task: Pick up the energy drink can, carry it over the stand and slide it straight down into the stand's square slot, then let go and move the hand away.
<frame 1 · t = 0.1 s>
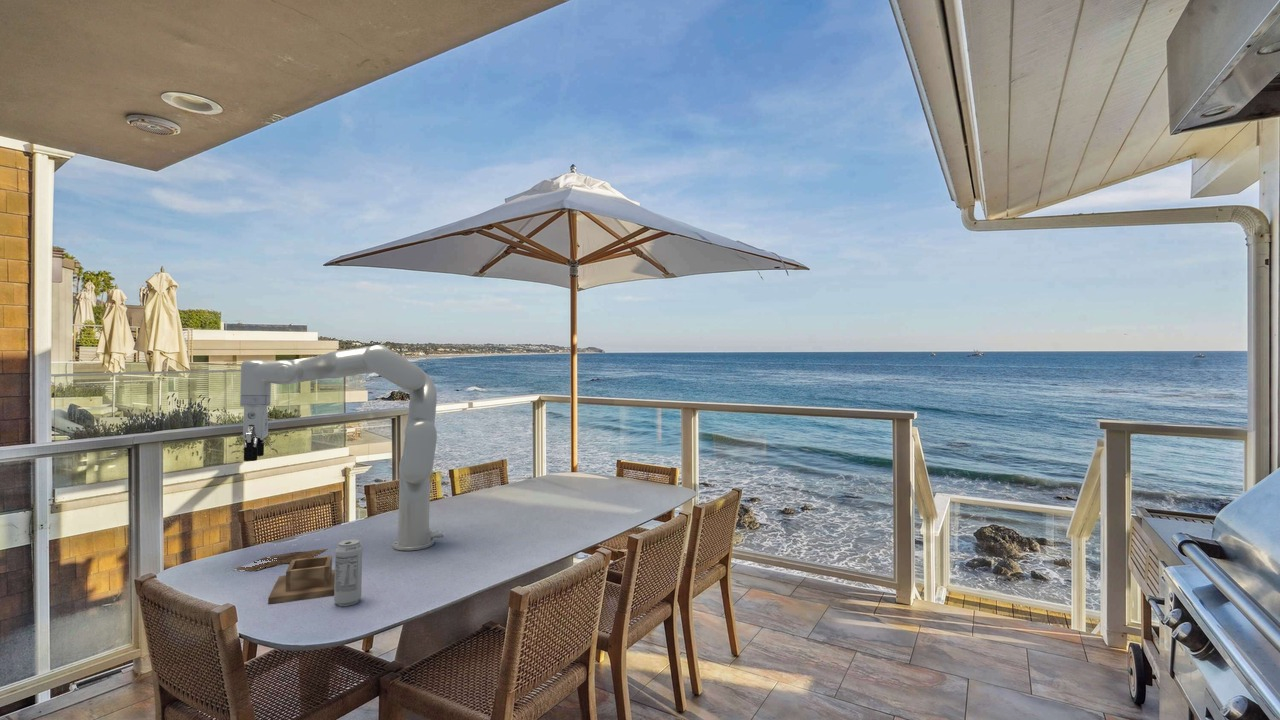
hand: (254, 458, 167), 31 cm above the table, tool pointing down, fingers open, 9 cm apart
wooden fragment: (284, 561, 170), on the table
energy drink can: (347, 602, 140), on the table
slotted stand: (309, 587, 149), on the table
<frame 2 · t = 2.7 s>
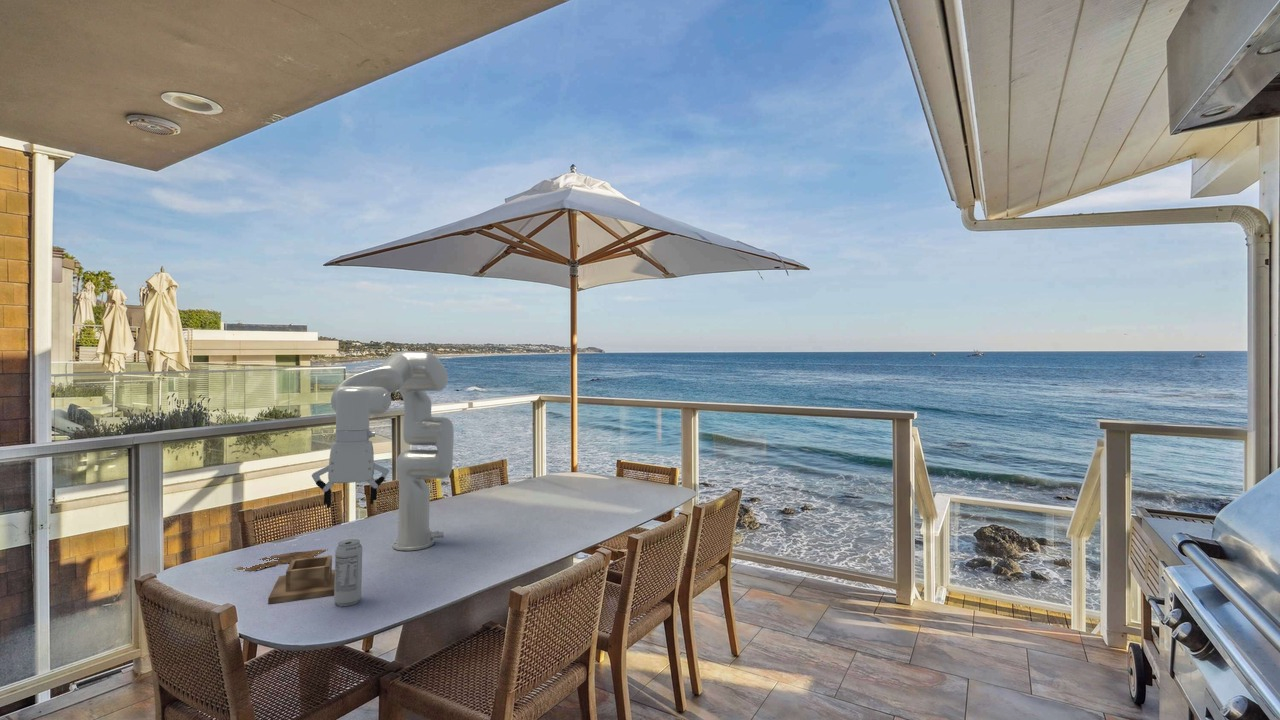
hand: (350, 504, 141), 24 cm above the table, tool pointing down, fingers open, 9 cm apart
nothing on the table moved.
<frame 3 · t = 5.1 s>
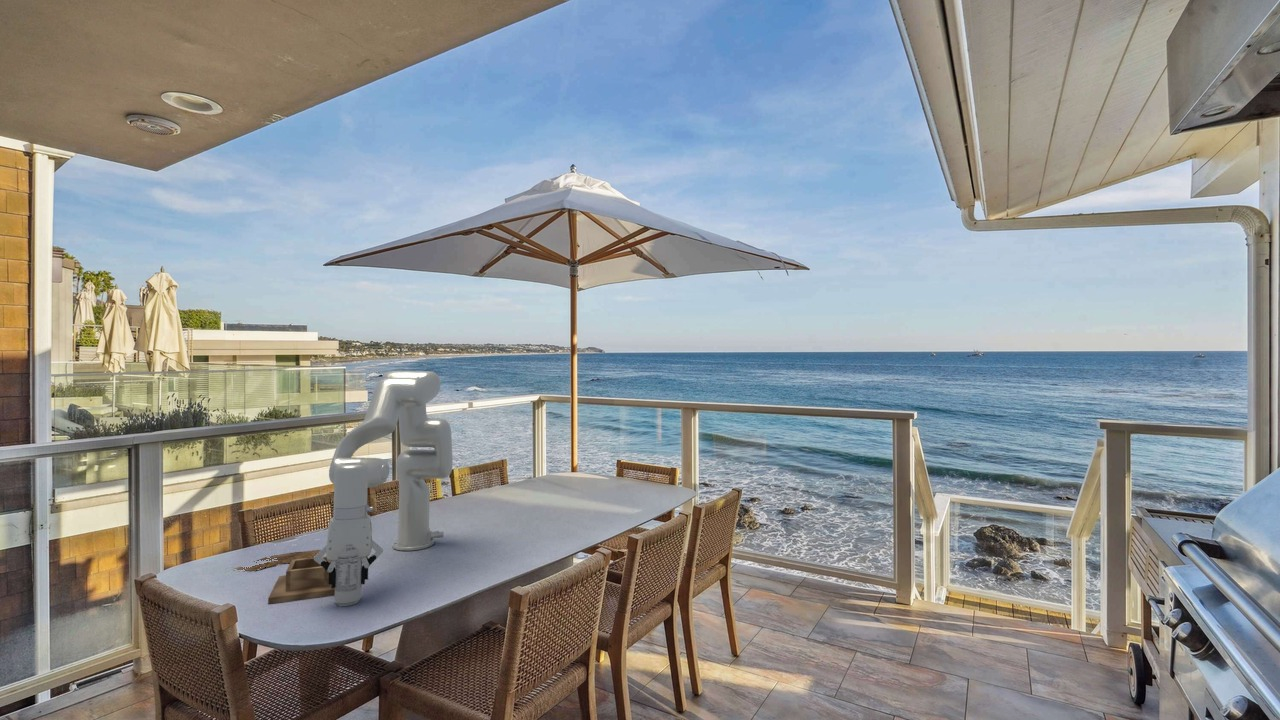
hand: (348, 583, 140), 4 cm above the table, tool pointing down, fingers closed on energy drink can, 6 cm apart
energy drink can: (348, 602, 140), on the table, touching gripper
everything else where it was.
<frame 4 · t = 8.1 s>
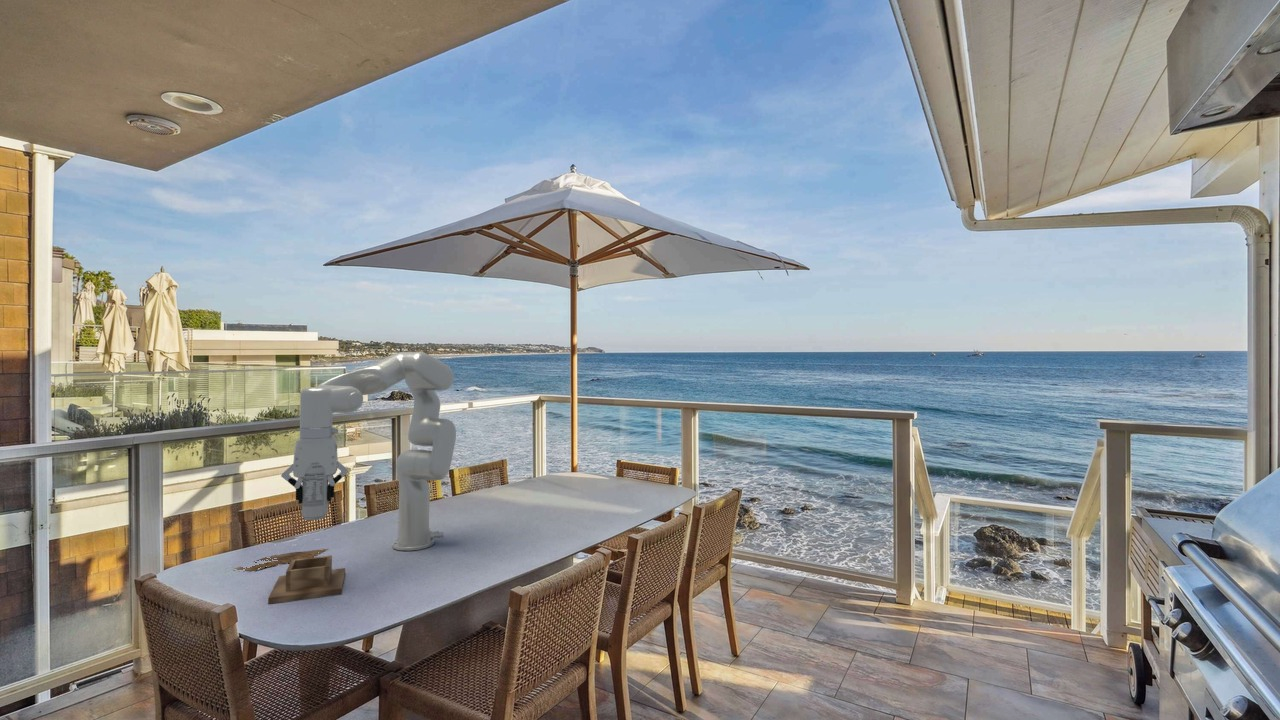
hand: (315, 500, 149), 23 cm above the table, tool pointing down, fingers closed on energy drink can, 6 cm apart
energy drink can: (314, 518, 148), point 19 cm above the table, touching gripper
everything else where it was.
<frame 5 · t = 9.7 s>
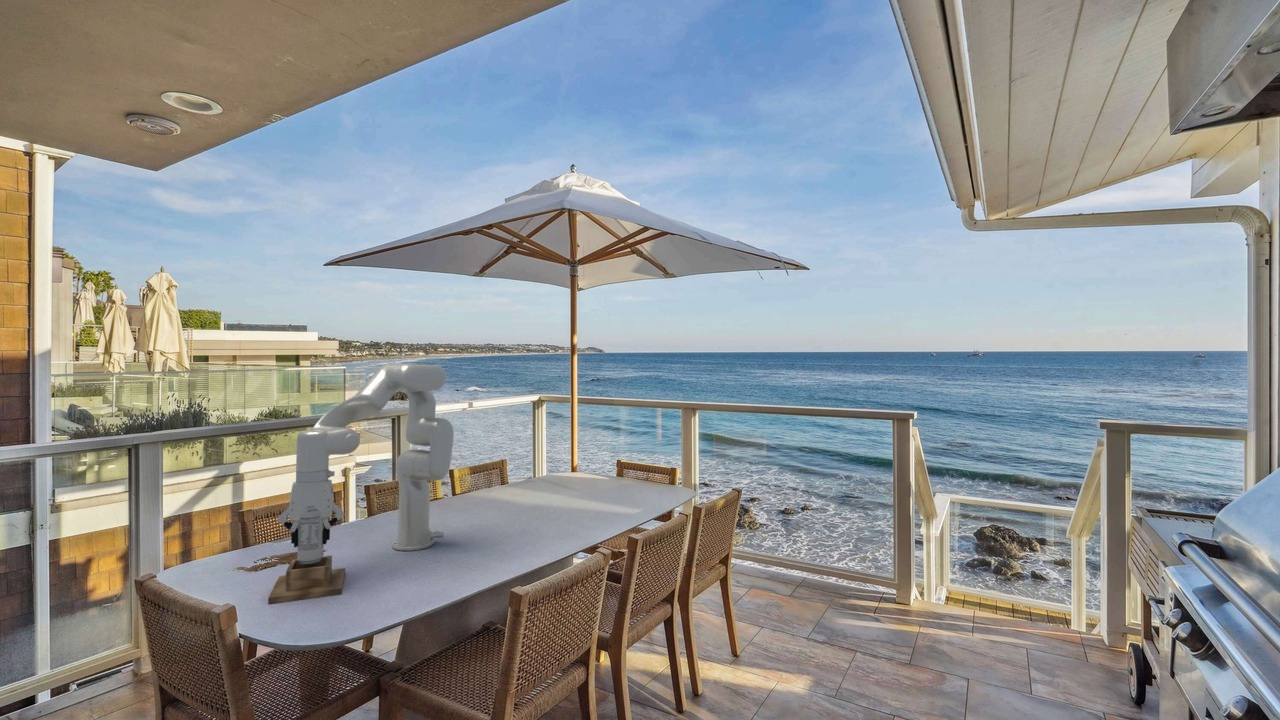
hand: (310, 543, 149), 12 cm above the table, tool pointing down, fingers closed on energy drink can, 6 cm apart
energy drink can: (310, 561, 149), point 7 cm above the table, touching gripper
everything else where it was.
when the fingers open (7 cm above the table, at t = 11.2 s): energy drink can drops 1 cm, resting on slotted stand.
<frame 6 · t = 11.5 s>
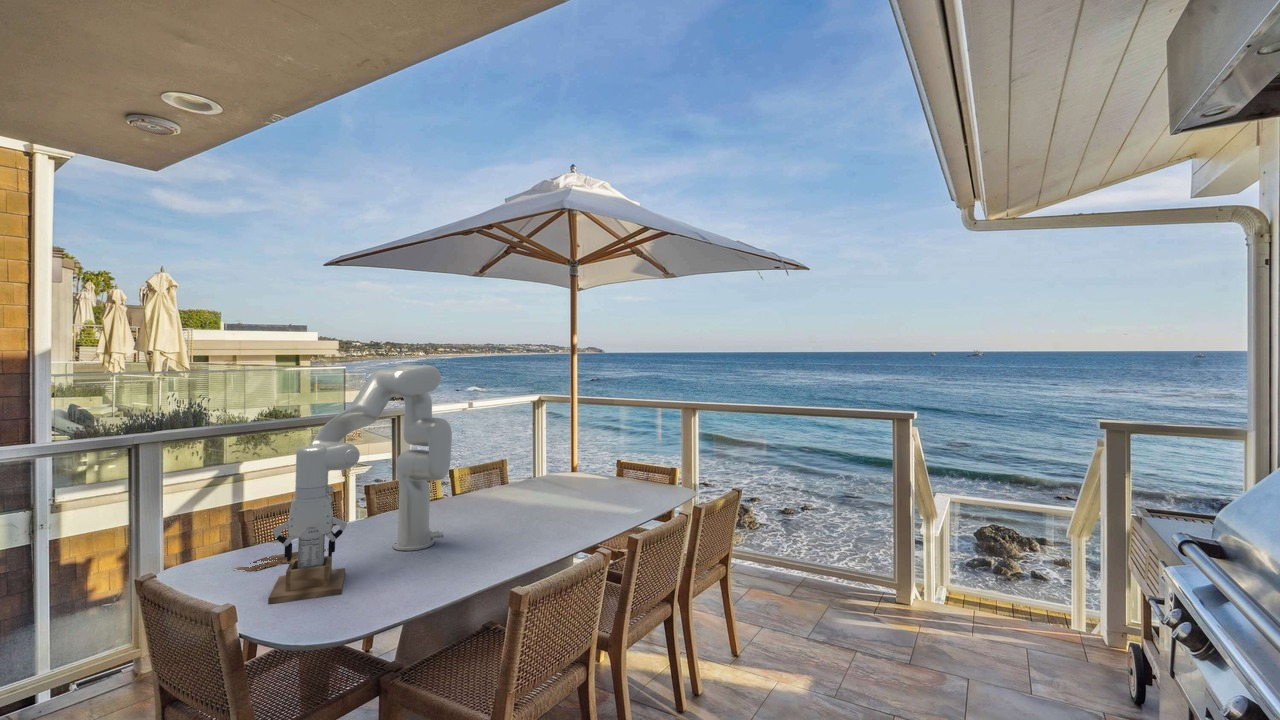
hand: (310, 557, 149), 8 cm above the table, tool pointing down, fingers open, 9 cm apart
energy drink can: (310, 582, 149), point 1 cm above the table, touching slotted stand
everything else where it was.
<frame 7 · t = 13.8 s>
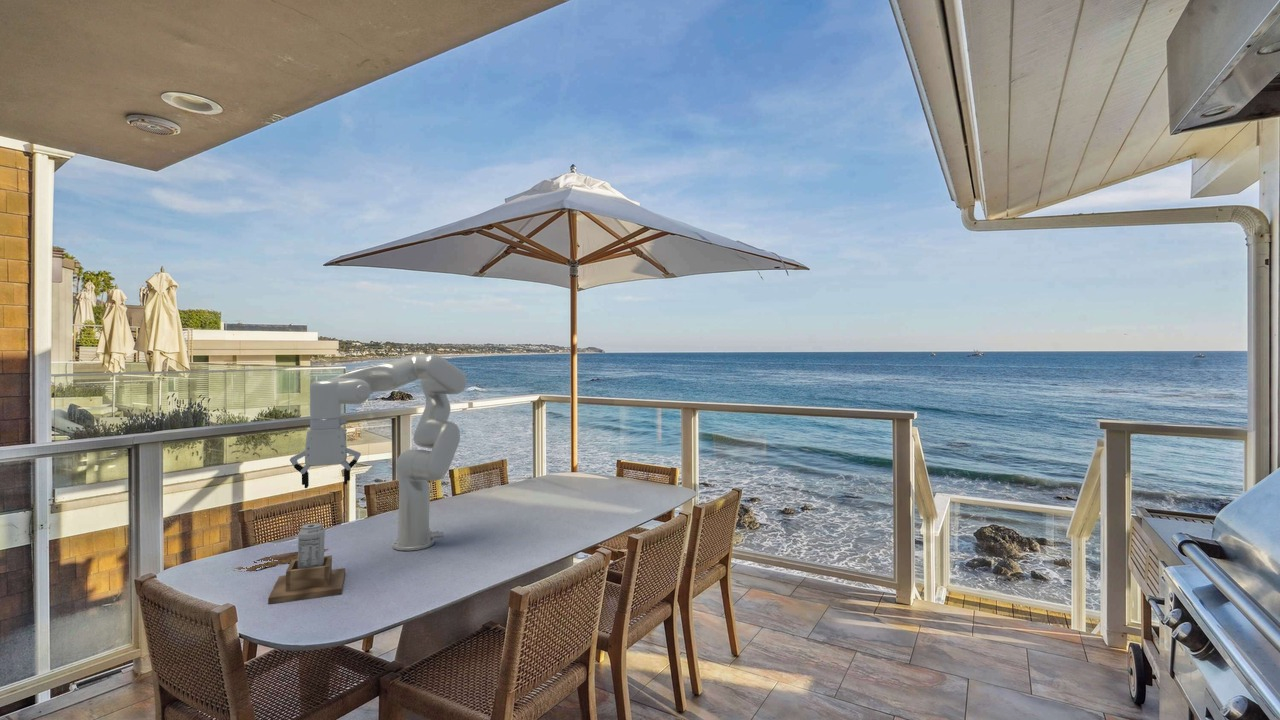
hand: (326, 485, 157), 26 cm above the table, tool pointing down, fingers open, 9 cm apart
nothing on the table moved.
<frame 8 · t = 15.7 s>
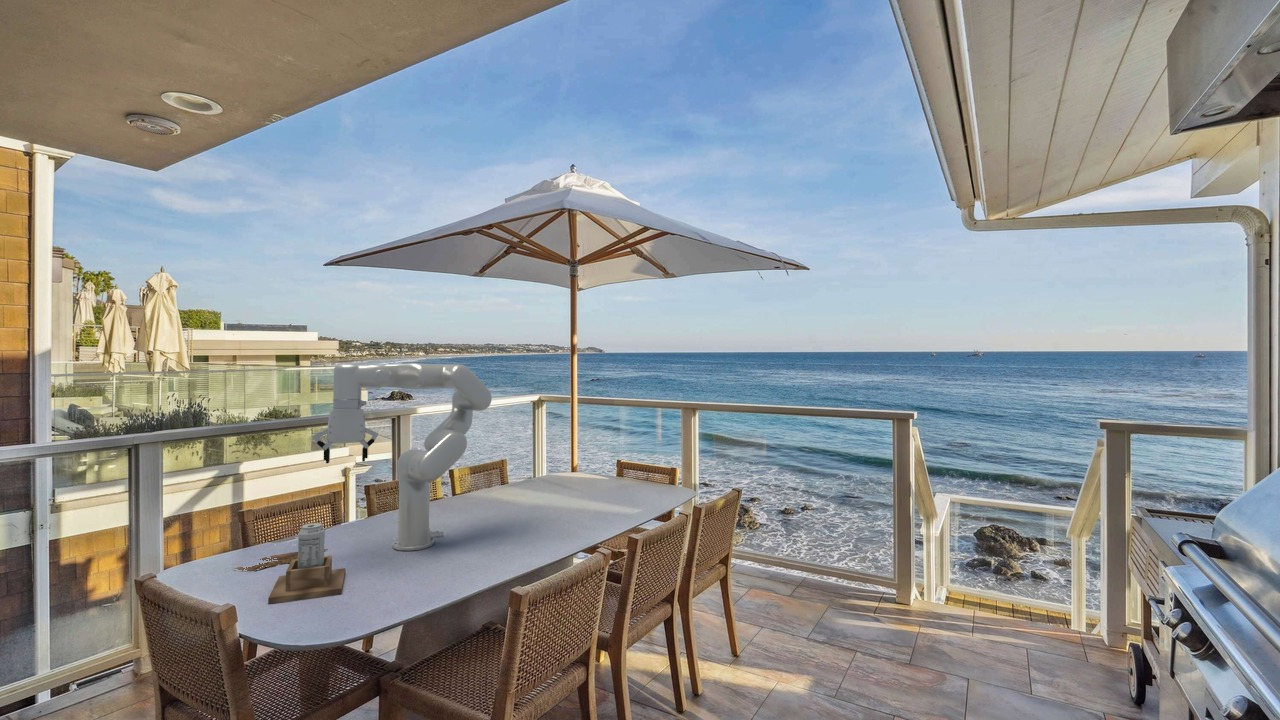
hand: (345, 461, 169), 30 cm above the table, tool pointing down, fingers open, 9 cm apart
nothing on the table moved.
at the end: energy drink can 0.2 cm off-centre on the slotted stand, point 1.3 cm above the slotted stand's base; energy drink can tilted 0°; the gripper is holding nothing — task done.
